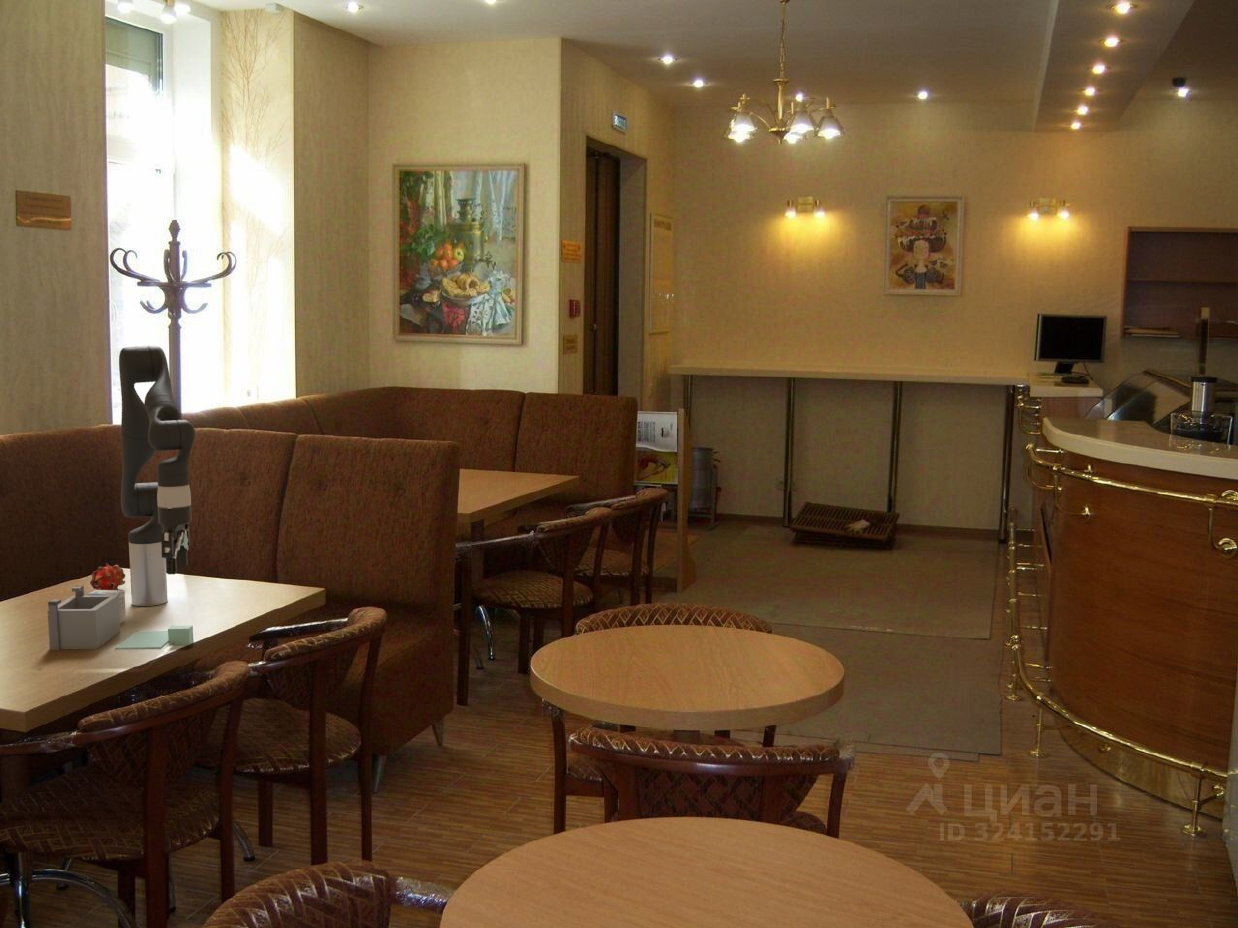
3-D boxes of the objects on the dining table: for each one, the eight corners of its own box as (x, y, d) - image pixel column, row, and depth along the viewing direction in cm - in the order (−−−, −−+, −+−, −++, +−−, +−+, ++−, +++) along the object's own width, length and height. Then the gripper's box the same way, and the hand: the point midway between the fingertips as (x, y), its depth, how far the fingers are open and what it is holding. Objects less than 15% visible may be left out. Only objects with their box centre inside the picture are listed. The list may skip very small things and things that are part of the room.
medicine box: (126, 623, 310) (125, 590, 309) (118, 627, 305) (116, 594, 304) (97, 622, 311) (96, 589, 309) (88, 626, 306) (86, 593, 305)
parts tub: (76, 633, 299) (73, 585, 297) (121, 633, 300) (119, 585, 298) (48, 653, 283) (45, 602, 281) (96, 652, 283) (93, 601, 282)
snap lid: (136, 636, 298) (135, 620, 298) (200, 634, 299) (199, 619, 298) (115, 652, 284) (114, 636, 283) (182, 651, 284) (181, 635, 284)
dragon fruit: (126, 592, 349) (98, 607, 338) (104, 574, 350) (75, 589, 339) (137, 571, 346) (109, 586, 335) (115, 553, 347) (85, 567, 336)
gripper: (167, 498, 294) (170, 563, 296) (148, 508, 280) (151, 576, 282) (199, 498, 294) (201, 563, 296) (181, 508, 280) (184, 576, 282)
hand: (177, 569), depth 289 cm, fingers open, 8 cm apart
